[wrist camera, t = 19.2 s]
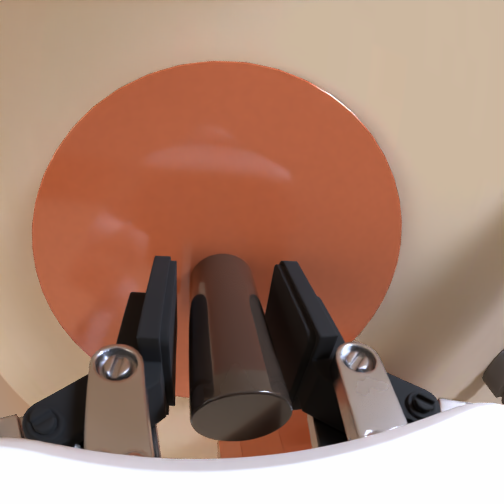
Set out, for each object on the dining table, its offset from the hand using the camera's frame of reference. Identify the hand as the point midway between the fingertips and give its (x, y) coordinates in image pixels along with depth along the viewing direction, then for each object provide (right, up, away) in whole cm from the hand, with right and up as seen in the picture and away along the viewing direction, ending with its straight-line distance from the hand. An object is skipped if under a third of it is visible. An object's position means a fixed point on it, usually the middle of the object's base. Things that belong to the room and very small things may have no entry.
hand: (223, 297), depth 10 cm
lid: (0, +1, +1) cm, 2 cm away
